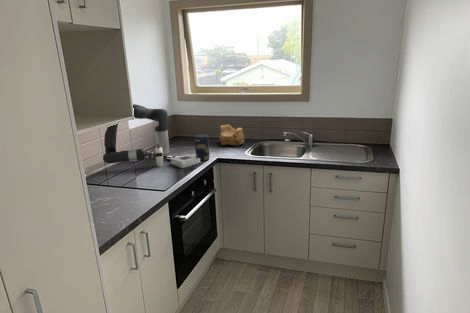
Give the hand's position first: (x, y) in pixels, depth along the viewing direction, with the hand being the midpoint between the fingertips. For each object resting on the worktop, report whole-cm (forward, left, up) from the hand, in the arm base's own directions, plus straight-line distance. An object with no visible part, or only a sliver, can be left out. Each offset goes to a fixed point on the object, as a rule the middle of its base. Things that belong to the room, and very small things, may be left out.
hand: (162, 152), depth 217 cm
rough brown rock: (-13, +67, -9) cm, 69 cm away
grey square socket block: (+8, +12, -9) cm, 17 cm away
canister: (+8, +26, -9) cm, 29 cm away
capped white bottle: (-1, -2, -9) cm, 9 cm away
